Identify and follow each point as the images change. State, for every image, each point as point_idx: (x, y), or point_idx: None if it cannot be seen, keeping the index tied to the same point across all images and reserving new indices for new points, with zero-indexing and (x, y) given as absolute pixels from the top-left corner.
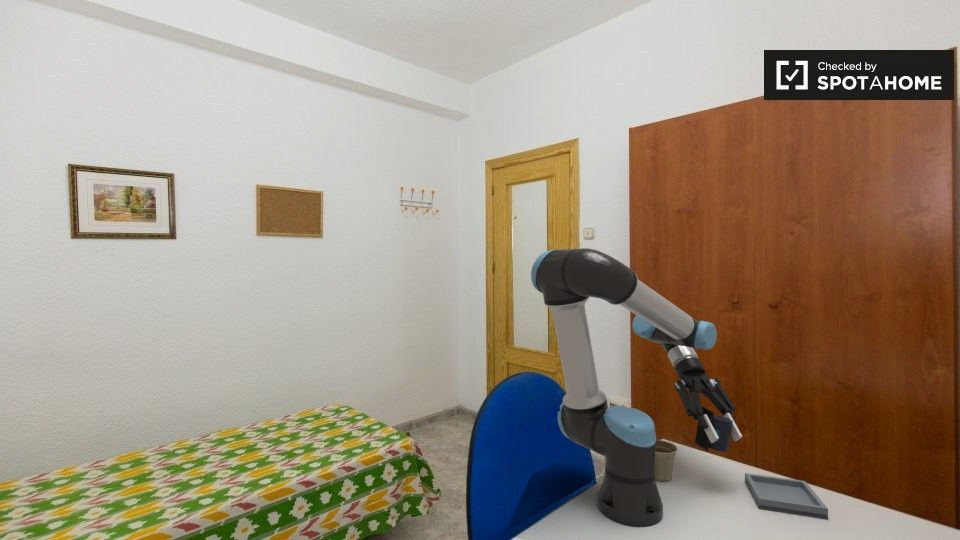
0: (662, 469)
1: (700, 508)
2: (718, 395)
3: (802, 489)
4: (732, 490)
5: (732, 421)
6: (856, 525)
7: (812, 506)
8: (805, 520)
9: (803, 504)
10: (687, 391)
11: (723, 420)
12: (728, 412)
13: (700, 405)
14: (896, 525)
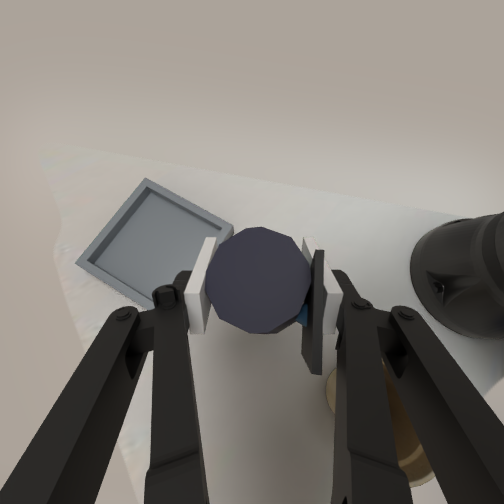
0: None
1: (335, 253)
2: (96, 471)
3: (100, 258)
4: None
5: (221, 243)
6: (126, 168)
7: (163, 187)
8: (189, 192)
9: (172, 195)
10: (494, 478)
11: (271, 240)
12: (181, 302)
13: (354, 338)
14: (69, 158)
